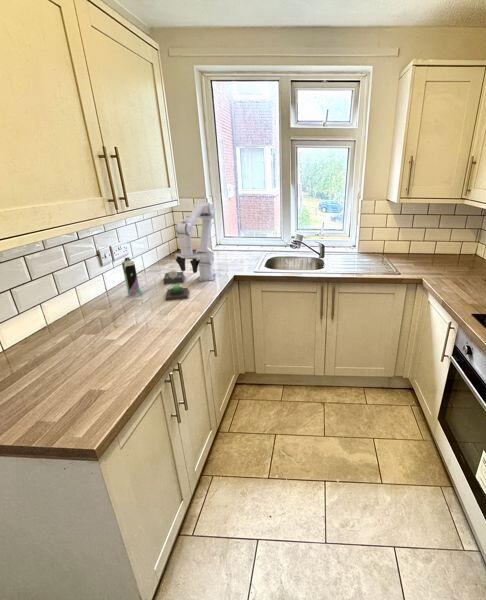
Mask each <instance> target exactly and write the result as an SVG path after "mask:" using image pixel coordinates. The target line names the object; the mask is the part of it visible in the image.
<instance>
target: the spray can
mask: <svg viewBox="0 0 486 600" xmlns="http://www.w3.org/2000/svg"><path fill="white" fill-rule="evenodd" d="M121 266H122V270H123V276H124V280H125V285H126V290H127V295H128V297H129V298H137V297H140V296H141V295H142V294H141V289H140V284H139V279H138V274H137V268H136V264H135V261H134V260H132V259H130V256H129V257H128V256H127V257H124V260H123V261H122V262H121Z"/></svg>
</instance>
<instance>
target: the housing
mask: <svg viewBox="0 0 486 600" xmlns="http://www.w3.org/2000/svg"><path fill="white" fill-rule="evenodd" d="M188 293H189V288H188V287H182V286H180V290H177V291H173V288H172V287H171V288H168V289H167V291H166V294H165V301H177V300H186V299H187V300H188Z"/></svg>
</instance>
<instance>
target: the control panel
mask: <svg viewBox="0 0 486 600" xmlns="http://www.w3.org/2000/svg"><path fill="white" fill-rule="evenodd" d="M177 276H178V277H176V278H170V277H169V272H165V274H164V277H163V284H164V285H171V284H173V285H174V284H181V283H182V284H183V283H184V279H185V272H184V271H177Z"/></svg>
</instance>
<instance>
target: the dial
mask: <svg viewBox="0 0 486 600" xmlns="http://www.w3.org/2000/svg"><path fill="white" fill-rule="evenodd" d="M177 272H178V270H176V269H170V270H168V272H167V273H169V277H170V278H176V277H178V276H177Z"/></svg>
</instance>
